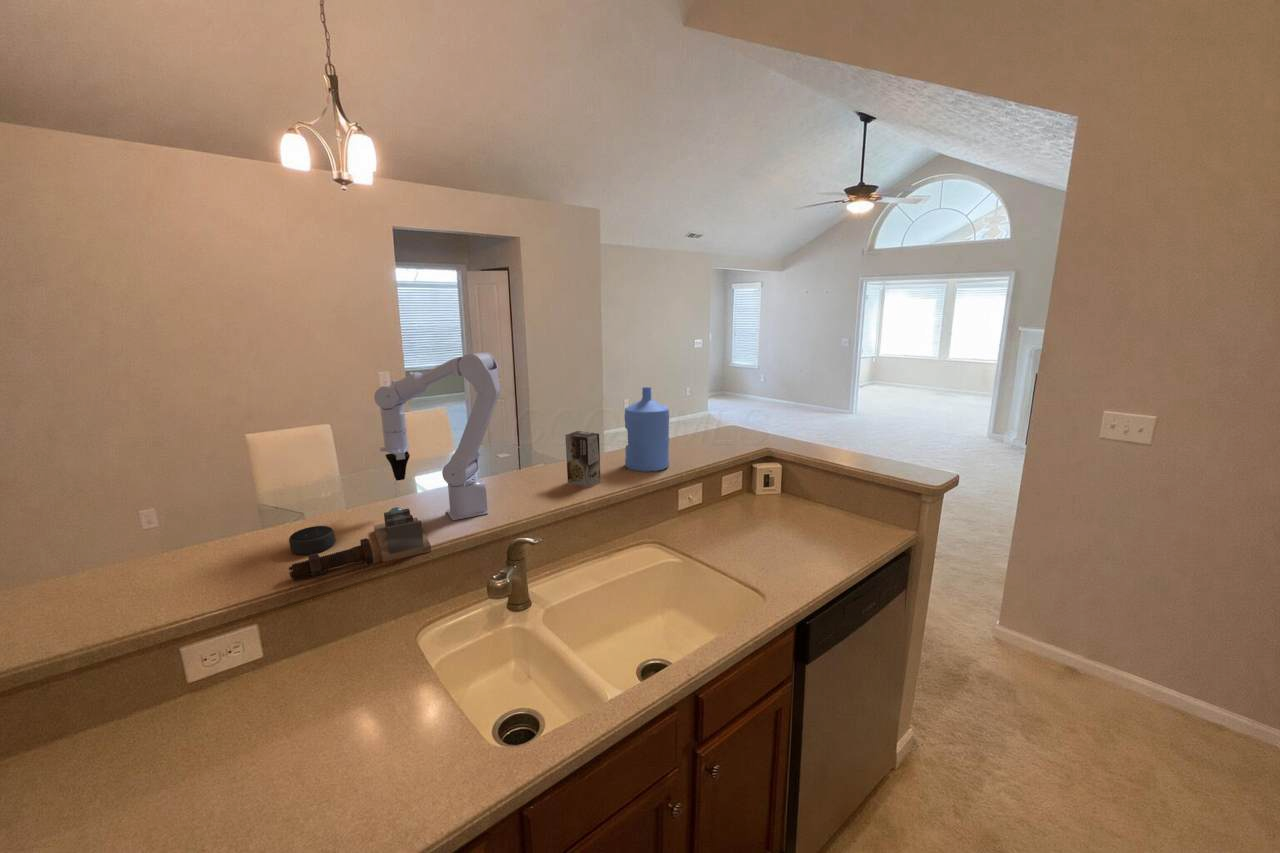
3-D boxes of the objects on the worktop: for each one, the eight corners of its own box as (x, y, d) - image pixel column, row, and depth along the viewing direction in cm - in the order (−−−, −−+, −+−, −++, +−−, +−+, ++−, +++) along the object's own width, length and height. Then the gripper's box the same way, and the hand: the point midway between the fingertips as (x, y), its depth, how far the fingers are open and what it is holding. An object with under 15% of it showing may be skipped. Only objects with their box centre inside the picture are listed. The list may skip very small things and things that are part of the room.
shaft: (388, 524, 129) (386, 509, 129) (405, 521, 131) (403, 506, 131) (395, 546, 117) (393, 530, 116) (414, 542, 119) (413, 526, 118)
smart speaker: (281, 555, 118) (278, 539, 117) (310, 539, 126) (308, 523, 125) (316, 557, 116) (314, 541, 116) (344, 541, 125) (342, 525, 124)
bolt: (292, 588, 107) (372, 564, 116) (291, 585, 103) (375, 561, 111) (287, 560, 108) (367, 539, 117) (286, 556, 104) (368, 535, 113)
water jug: (678, 465, 185) (678, 387, 179) (648, 475, 174) (647, 392, 168) (646, 458, 196) (645, 383, 190) (616, 466, 185) (614, 388, 179)
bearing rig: (374, 530, 130) (371, 502, 129) (417, 522, 135) (414, 495, 134) (382, 562, 114) (379, 529, 112) (431, 551, 119) (428, 520, 117)
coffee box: (601, 482, 167) (600, 433, 164) (589, 487, 162) (587, 437, 159) (579, 477, 172) (577, 430, 169) (566, 483, 167) (564, 434, 164)
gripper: (375, 427, 142) (381, 475, 145) (380, 437, 130) (386, 489, 133) (403, 424, 146) (408, 471, 148) (411, 434, 134) (416, 484, 136)
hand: (400, 479), depth 141 cm, fingers closed
